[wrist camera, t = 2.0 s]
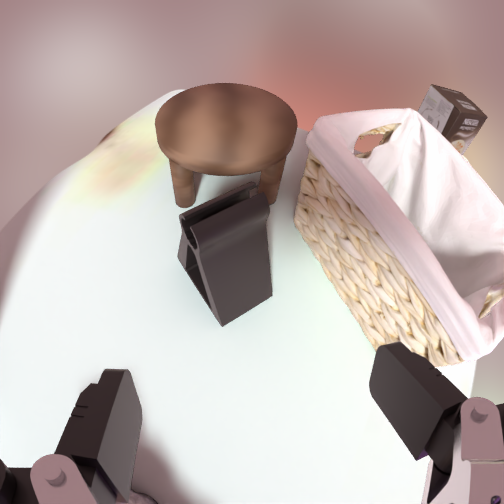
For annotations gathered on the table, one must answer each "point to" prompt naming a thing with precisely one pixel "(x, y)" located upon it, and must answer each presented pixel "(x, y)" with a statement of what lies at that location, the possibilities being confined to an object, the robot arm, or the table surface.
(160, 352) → the table surface
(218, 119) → the stool
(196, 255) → the phone stand
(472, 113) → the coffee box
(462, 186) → the storage basket
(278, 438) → the table surface
